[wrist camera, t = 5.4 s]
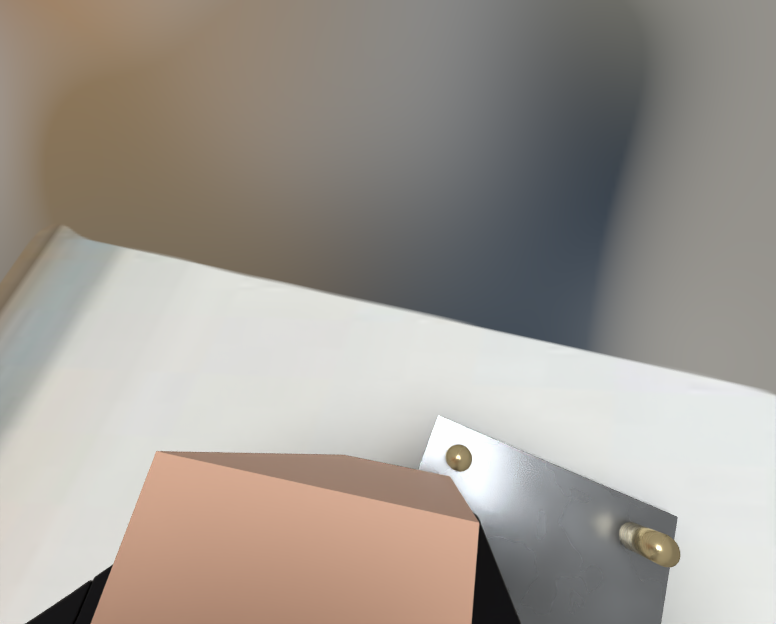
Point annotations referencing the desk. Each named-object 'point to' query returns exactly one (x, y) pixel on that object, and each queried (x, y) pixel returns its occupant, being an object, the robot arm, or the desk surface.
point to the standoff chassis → (559, 533)
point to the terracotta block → (292, 544)
